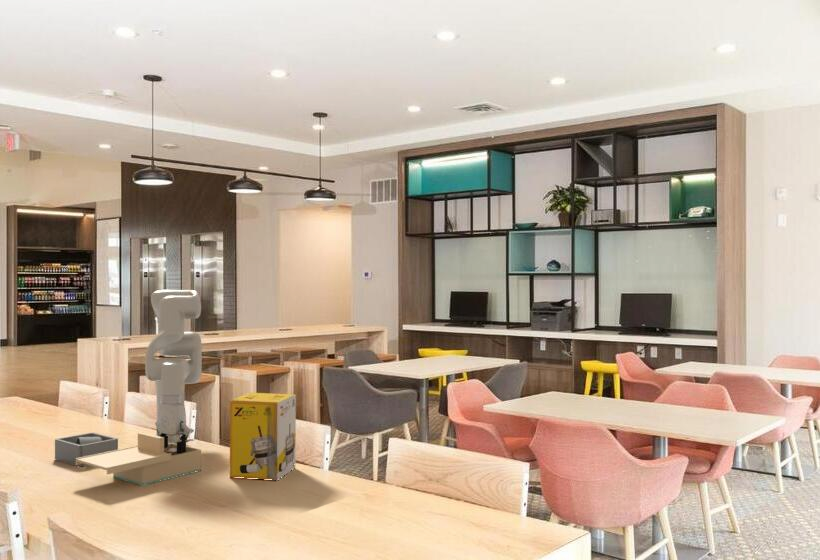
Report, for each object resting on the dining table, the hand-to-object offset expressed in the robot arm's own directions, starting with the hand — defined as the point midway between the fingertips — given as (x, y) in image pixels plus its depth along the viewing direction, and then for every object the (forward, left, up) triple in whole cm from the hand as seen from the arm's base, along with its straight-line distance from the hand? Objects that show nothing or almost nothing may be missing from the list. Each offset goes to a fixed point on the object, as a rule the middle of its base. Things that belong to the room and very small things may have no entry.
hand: (172, 450), depth 253 cm
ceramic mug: (+8, -37, -7) cm, 39 cm away
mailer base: (+6, 0, -7) cm, 9 cm away
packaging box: (-16, +26, -7) cm, 32 cm away
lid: (+18, 0, 0) cm, 18 cm away
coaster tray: (+10, -36, -7) cm, 37 cm away
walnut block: (0, 0, -6) cm, 6 cm away
